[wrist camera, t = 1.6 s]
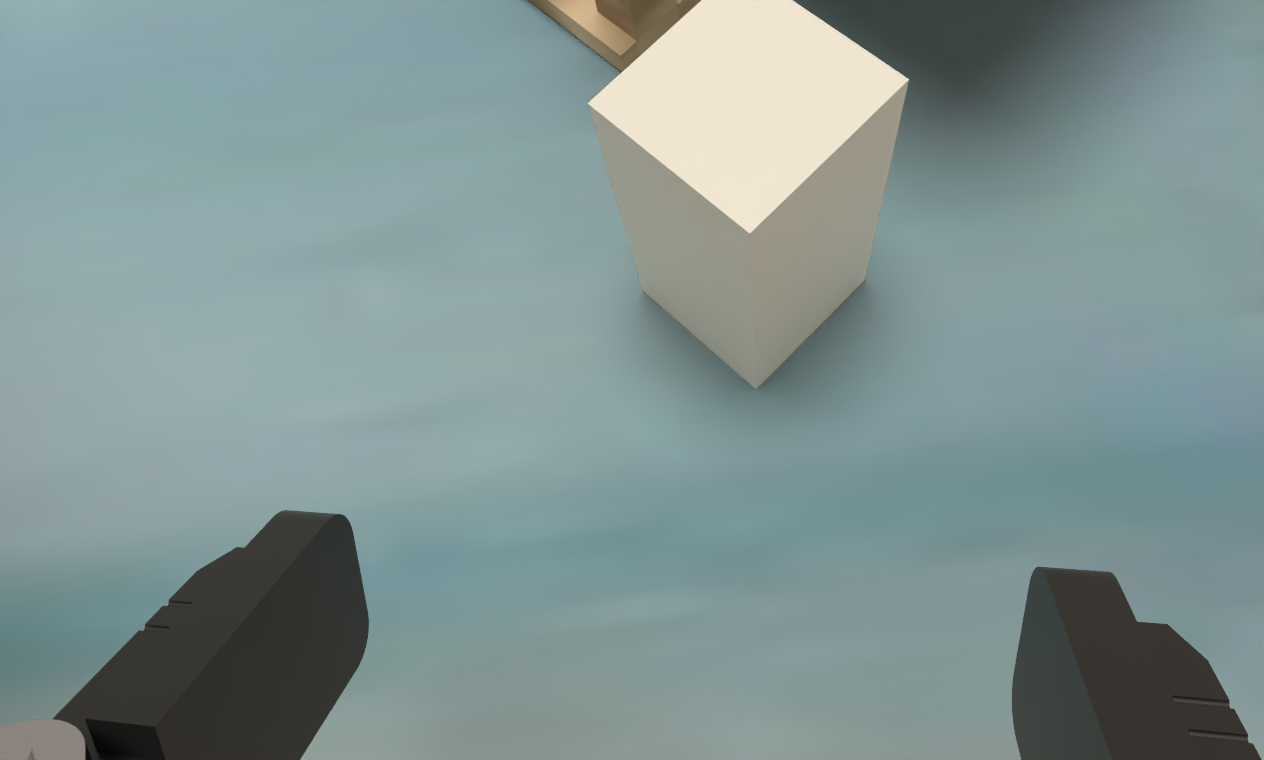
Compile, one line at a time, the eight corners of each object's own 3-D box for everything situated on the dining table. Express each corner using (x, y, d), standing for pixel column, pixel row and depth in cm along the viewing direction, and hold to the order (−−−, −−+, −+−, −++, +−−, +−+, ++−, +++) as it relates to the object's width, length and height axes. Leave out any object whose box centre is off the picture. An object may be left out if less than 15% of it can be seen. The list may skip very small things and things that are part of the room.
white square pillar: (642, 290, 31) (587, 103, 21) (748, 188, 31) (740, -35, 22) (755, 389, 29) (749, 233, 20) (865, 279, 30) (909, 79, 20)
